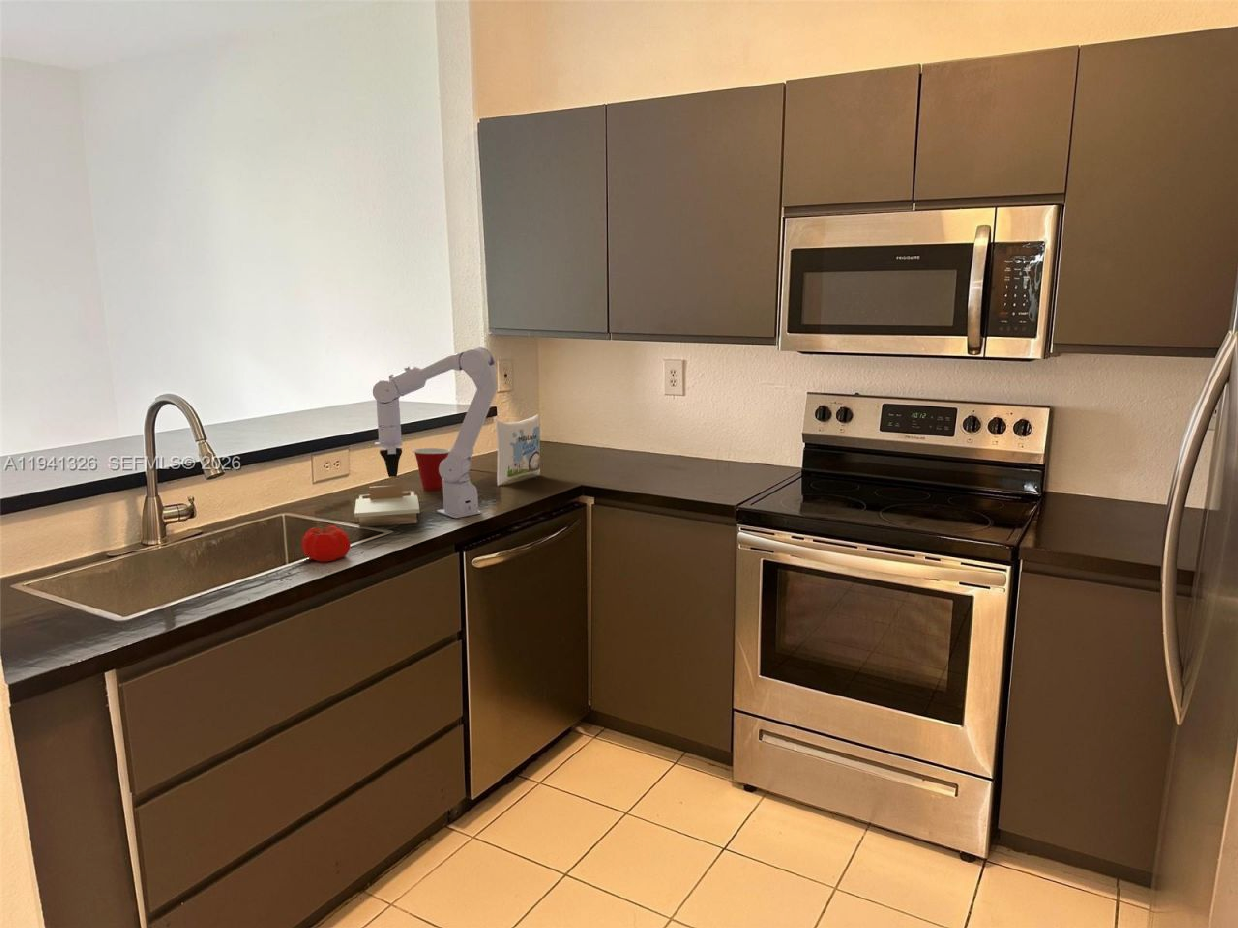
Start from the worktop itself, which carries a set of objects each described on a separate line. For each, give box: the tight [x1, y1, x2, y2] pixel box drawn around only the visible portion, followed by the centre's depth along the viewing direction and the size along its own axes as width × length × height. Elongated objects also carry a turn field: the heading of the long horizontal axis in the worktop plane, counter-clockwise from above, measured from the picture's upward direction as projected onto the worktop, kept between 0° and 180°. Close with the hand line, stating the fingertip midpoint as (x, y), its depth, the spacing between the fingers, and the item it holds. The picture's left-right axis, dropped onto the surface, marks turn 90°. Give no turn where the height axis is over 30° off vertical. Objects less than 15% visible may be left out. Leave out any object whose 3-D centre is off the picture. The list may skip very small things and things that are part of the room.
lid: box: [353, 484, 420, 518], centre depth 212 cm, size 15×15×4 cm
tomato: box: [301, 525, 352, 563], centre depth 190 cm, size 10×11×6 cm
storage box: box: [358, 491, 418, 528], centre depth 223 cm, size 14×14×5 cm
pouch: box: [496, 413, 541, 487], centre depth 264 cm, size 8×19×20 cm, turn 141°
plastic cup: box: [412, 447, 451, 492], centre depth 255 cm, size 11×11×12 cm
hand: (392, 476), depth 228 cm, fingers closed
